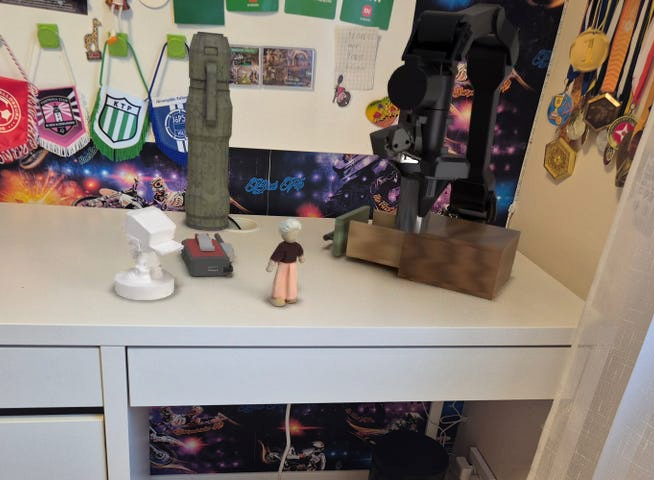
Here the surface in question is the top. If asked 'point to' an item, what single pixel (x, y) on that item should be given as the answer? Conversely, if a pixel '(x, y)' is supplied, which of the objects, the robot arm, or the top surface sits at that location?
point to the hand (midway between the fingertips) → (413, 212)
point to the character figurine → (147, 255)
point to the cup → (410, 207)
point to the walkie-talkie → (207, 255)
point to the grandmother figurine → (286, 263)
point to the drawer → (367, 236)
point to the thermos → (208, 132)
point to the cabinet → (460, 256)
